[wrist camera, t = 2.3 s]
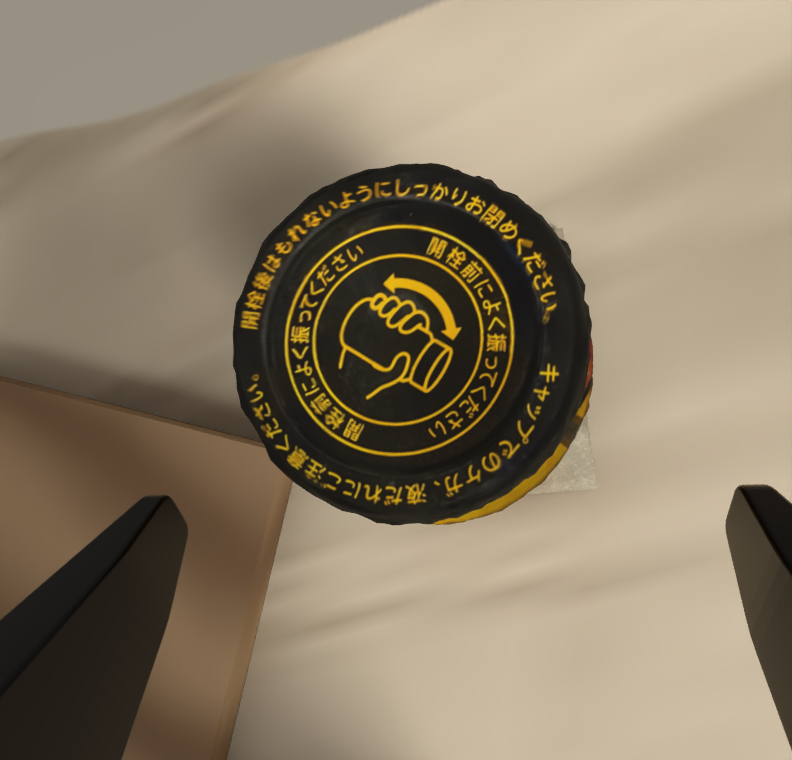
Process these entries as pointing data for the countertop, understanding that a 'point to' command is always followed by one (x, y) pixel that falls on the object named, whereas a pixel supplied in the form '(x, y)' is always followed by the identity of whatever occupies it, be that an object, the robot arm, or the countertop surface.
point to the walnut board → (203, 558)
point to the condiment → (418, 348)
